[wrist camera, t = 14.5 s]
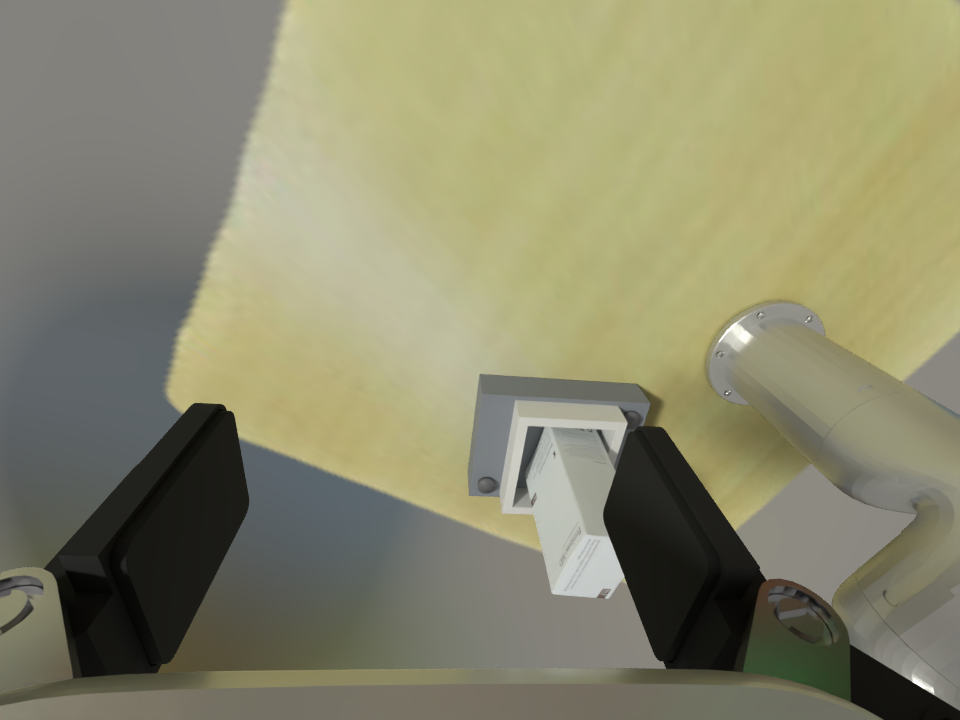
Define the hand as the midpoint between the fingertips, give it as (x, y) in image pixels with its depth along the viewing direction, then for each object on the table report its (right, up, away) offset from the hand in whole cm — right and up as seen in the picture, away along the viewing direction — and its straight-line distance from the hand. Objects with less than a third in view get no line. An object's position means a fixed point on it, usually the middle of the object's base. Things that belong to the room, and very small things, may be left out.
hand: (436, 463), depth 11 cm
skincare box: (+10, -8, +40) cm, 41 cm away
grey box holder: (+9, -6, +43) cm, 44 cm away
